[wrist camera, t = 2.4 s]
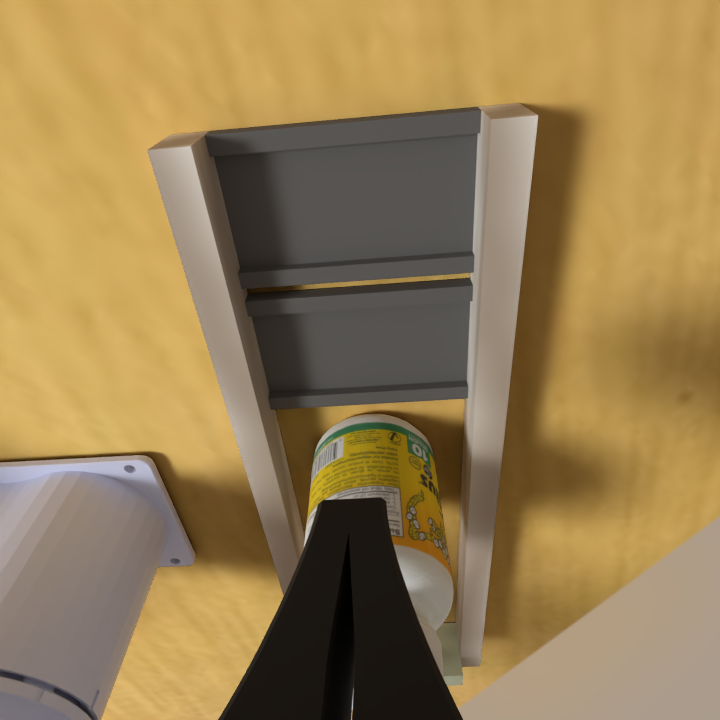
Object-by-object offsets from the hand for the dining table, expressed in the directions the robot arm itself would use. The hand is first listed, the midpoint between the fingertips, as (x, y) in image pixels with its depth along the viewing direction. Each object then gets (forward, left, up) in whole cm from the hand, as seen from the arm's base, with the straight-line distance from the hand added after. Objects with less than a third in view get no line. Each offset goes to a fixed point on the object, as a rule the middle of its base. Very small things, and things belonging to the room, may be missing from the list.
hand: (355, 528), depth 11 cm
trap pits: (0, +1, -10) cm, 10 cm away
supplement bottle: (0, -8, -10) cm, 12 cm away
